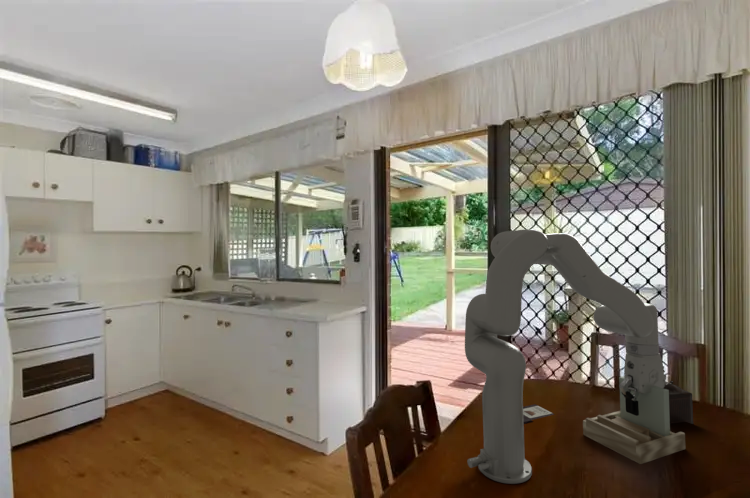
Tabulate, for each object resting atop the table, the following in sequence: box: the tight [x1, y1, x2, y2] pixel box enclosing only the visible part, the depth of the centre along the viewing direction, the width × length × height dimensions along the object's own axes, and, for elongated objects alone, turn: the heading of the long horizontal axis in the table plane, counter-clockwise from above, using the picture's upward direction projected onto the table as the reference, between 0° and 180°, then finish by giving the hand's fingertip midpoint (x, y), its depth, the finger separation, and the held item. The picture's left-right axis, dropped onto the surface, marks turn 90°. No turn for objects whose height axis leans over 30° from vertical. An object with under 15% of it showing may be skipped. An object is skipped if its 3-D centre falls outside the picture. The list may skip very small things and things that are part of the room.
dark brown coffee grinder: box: [663, 365, 695, 425], centre depth 120 cm, size 16×11×18 cm
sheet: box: [618, 375, 671, 436], centre depth 104 cm, size 2×12×15 cm, turn 21°
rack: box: [582, 410, 686, 465], centre depth 102 cm, size 17×16×6 cm
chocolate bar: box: [523, 403, 555, 425], centre depth 122 cm, size 9×1×18 cm
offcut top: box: [612, 417, 649, 436], centre depth 103 cm, size 3×8×2 cm, turn 25°
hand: (644, 410), depth 104 cm, fingers open, 9 cm apart
